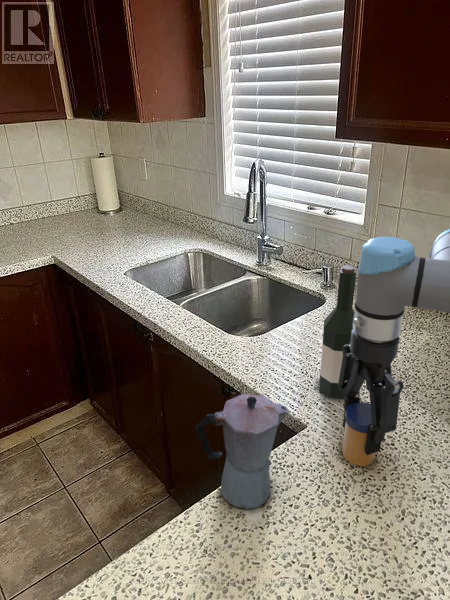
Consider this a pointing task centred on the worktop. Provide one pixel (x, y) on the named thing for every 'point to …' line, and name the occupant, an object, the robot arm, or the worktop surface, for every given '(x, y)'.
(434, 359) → the worktop surface
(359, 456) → the jam jar
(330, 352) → the wine bottle
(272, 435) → the moka pot
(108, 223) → the worktop surface
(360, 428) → the jam lid
